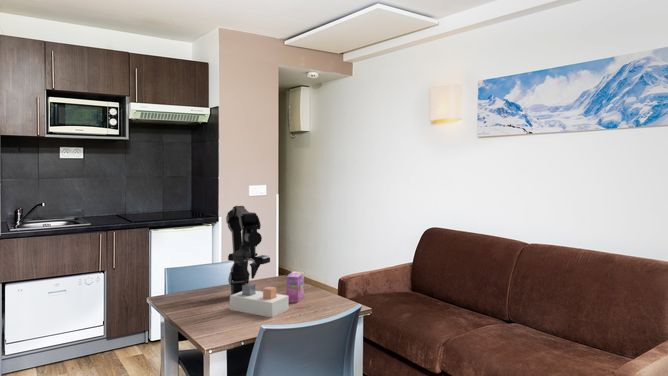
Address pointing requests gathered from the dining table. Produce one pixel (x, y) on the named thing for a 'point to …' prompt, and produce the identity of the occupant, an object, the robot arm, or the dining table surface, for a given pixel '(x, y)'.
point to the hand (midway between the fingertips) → (248, 278)
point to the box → (295, 286)
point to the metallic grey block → (248, 289)
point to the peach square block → (269, 292)
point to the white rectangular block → (259, 304)
